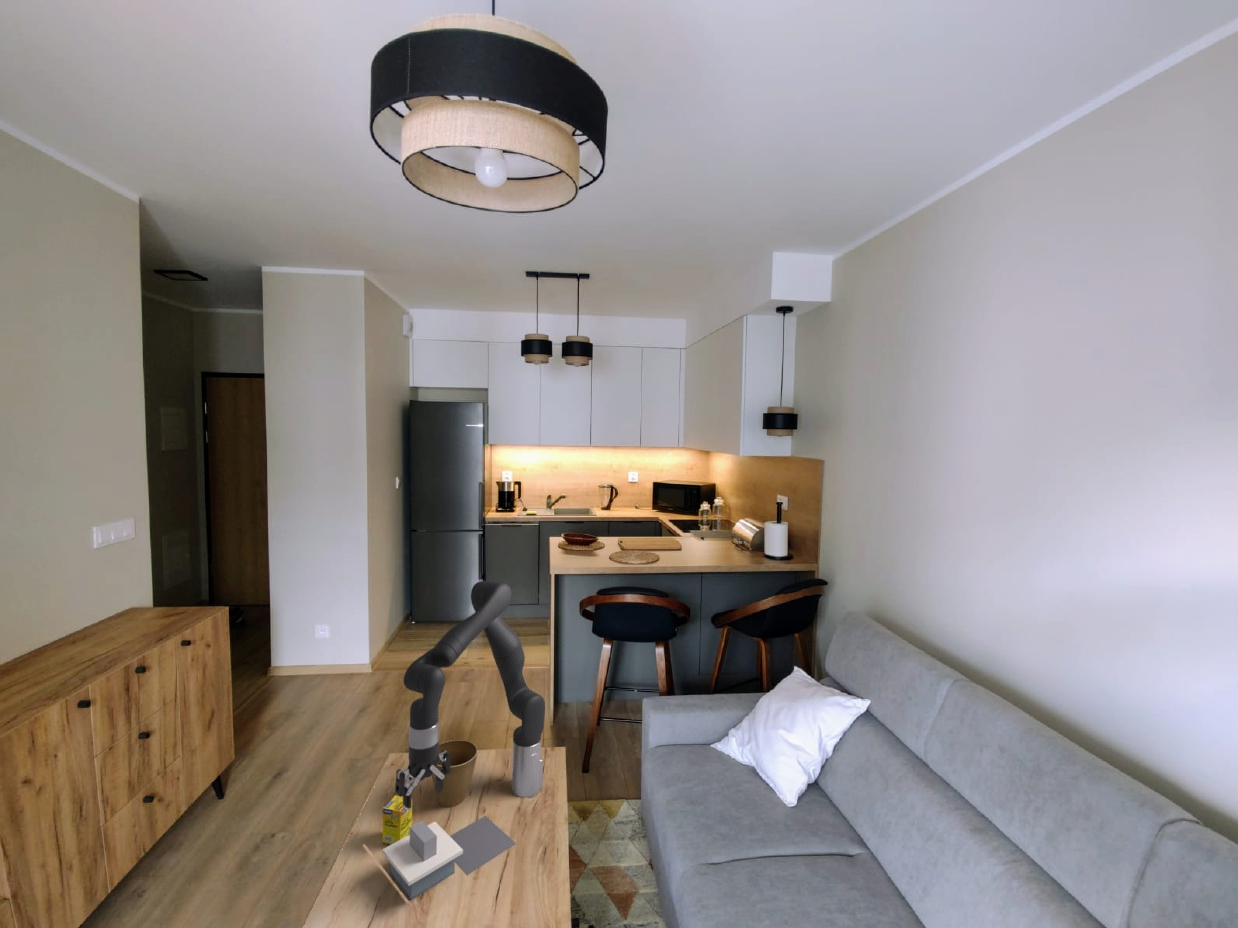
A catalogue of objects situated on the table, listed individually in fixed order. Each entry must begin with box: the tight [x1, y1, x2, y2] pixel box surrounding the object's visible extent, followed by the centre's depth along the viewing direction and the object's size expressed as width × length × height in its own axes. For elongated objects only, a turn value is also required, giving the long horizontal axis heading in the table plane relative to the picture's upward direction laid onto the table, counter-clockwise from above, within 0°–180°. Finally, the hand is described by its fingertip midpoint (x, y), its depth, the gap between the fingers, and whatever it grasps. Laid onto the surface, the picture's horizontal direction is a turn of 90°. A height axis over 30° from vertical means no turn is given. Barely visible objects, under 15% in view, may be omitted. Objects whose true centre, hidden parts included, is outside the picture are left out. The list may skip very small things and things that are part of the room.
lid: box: [382, 820, 463, 886], centre depth 145 cm, size 15×15×6 cm
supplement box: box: [381, 794, 413, 846], centre depth 157 cm, size 6×6×11 cm
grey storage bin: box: [389, 859, 456, 900], centre depth 145 cm, size 12×12×6 cm
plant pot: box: [431, 739, 479, 808], centre depth 174 cm, size 15×15×16 cm
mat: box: [449, 815, 517, 876], centre depth 156 cm, size 16×16×1 cm
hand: (423, 798), depth 144 cm, fingers open, 8 cm apart
